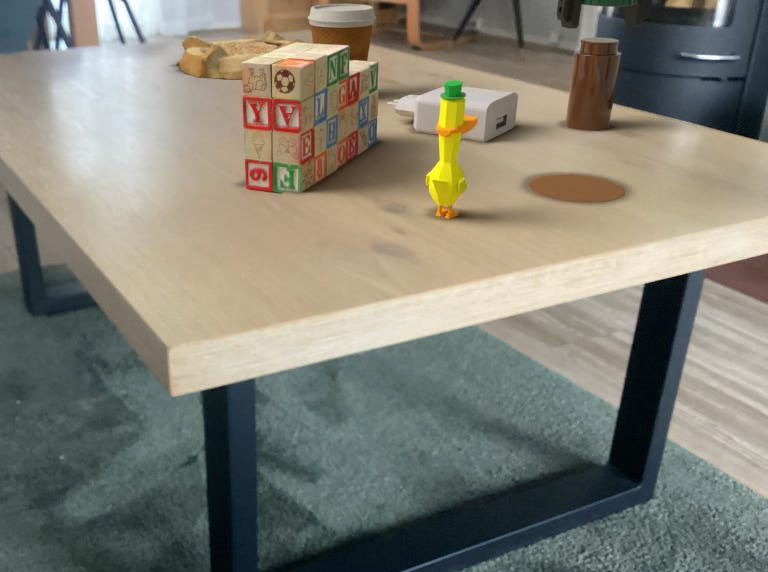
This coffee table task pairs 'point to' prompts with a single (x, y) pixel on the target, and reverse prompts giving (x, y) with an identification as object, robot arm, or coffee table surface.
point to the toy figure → (450, 149)
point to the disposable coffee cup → (343, 27)
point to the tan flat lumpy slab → (226, 54)
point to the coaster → (576, 188)
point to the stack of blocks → (305, 114)
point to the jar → (593, 84)
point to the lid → (610, 3)
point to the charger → (485, 104)
